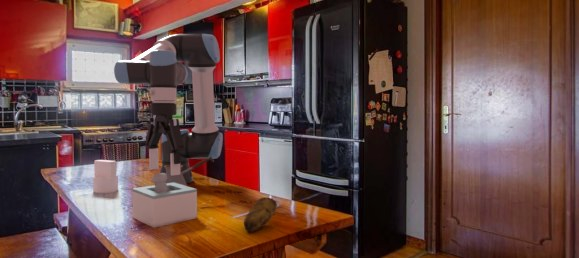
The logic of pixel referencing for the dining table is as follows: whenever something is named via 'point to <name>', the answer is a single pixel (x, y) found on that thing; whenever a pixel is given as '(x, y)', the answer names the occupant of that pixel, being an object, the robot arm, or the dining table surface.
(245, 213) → the fork
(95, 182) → the base with upright slab
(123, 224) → the dining table surface
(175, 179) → the coffee pot
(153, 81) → the robot arm
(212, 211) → the dining table surface
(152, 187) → the drop box
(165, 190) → the salt shaker
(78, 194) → the dining table surface
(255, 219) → the potato
